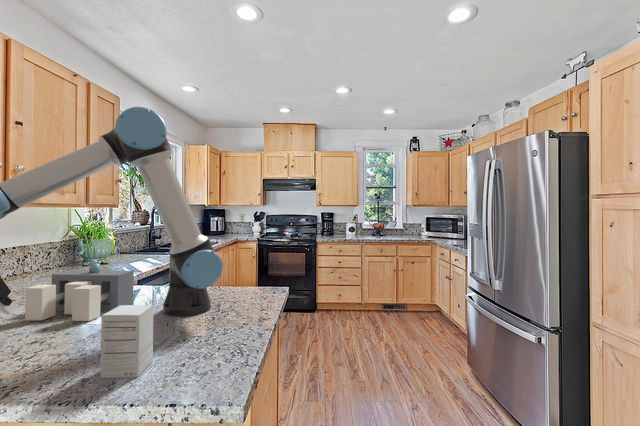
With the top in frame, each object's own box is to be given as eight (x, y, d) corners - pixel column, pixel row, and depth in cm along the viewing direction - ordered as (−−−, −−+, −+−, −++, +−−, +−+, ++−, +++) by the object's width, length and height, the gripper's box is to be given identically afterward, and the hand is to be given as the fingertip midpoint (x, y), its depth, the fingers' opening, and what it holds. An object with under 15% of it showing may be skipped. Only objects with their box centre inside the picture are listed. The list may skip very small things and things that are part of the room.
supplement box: (118, 362, 71) (119, 304, 71) (153, 361, 72) (154, 304, 72) (98, 379, 64) (99, 314, 64) (138, 378, 64) (139, 314, 65)
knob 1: (75, 307, 110) (75, 279, 110) (41, 320, 96) (42, 288, 96) (60, 307, 110) (61, 279, 110) (24, 320, 96) (25, 288, 96)
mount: (133, 304, 117) (133, 270, 117) (107, 316, 102) (107, 278, 102) (71, 303, 117) (72, 269, 117) (37, 315, 102) (38, 277, 102)
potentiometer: (101, 271, 114) (101, 259, 114) (95, 273, 111) (96, 260, 111) (93, 271, 114) (93, 259, 114) (87, 273, 111) (87, 260, 111)
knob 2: (116, 308, 110) (117, 280, 110) (88, 320, 96) (89, 288, 96) (101, 308, 110) (102, 279, 110) (72, 320, 96) (72, 288, 96)
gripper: (-99, 270, 71) (-22, 322, 87) (-39, 271, 71) (27, 323, 87) (-69, 243, 76) (-2, 297, 93) (-13, 245, 76) (44, 298, 93)
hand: (12, 309), depth 90 cm, fingers closed
